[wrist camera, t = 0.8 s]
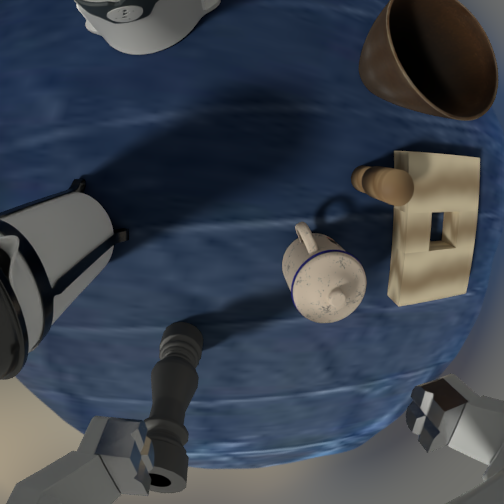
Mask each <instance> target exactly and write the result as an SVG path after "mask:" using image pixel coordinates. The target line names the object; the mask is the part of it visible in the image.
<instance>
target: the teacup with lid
mask: <svg viewBox="0 0 504 504" xmlns="http://www.w3.org/2000/svg"><path fill="white" fill-rule="evenodd" d="M295 228H296V232H297V235H298V237H299V238H298V239H296V240H295V241H294V242H292V243H291V244H290V246H289V247H288V248H287V250H286V252H285V254H284V257H283V261H282V270H283V274H284V277H285V279H286V281H287V284H288V286H289V289H290V291H291V297H292V301H293V304H294V306H295V308H296V309H297V310H298V312H299V313H300V314H301V315H303V316H304V317H306V318H307V319H309V320H311V321H314V322H318V323H331V322H335V321H338V320H341V319H343V318H345V317H347V316H348V315H349V314H351V313H352V312H353V311H354V310H355V309H356V308H357V307H358V305H359V304H360V302H361V301H362V299H363V296H364V294H365V290H366V274H365V271H364V268H363V266H362V264H361V263H360V261H359V260H358V259H357V258H356V257H355V256H353V255H352V254H350V253H348V252H346V251H345V250H344V249H343V248H342V247H341V246H340V245H338V244H337V243H336V242H335V241H334V240H333V239H332V238H330V237H328V236H326V235H323V234H318V233H312V232H311V231H310V229H309V227H308V226H307V224H306V223H305V222H300V223H298V224H296V226H295Z"/></svg>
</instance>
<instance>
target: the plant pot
mask: <svg viewBox="0 0 504 504" xmlns="http://www.w3.org/2000/svg"><path fill="white" fill-rule="evenodd" d="M359 74H360V77H361V80H362V82H363V84H364V85H365V86H366V88H367V89H368V90H369V91H370V92H372V93H373V94H375V95H376V96H378V97H380V98H382V99H384V100H386V101H388V102H391V103H393V104H395V105H398V106H401V107H404V108H407V109H410V110H414V111H418V112H421V113H425V114H429V115H434V116H439V117H445V118H451V119H456V120H464V121H465V120H474V119H477V118H479V117H481V116H482V115H484V114H485V113H486V112H487V111H488V110H489V109H490V107H491V106H492V104H493V102H494V100H495V97H496V93H497V88H498V68H497V63H496V58H495V55H494V51H493V49H492V46H491V43H490V41H489V39H488V37H487V35H486V33H485V31H484V30H483V28H482V27H481V25H480V24H479V22H478V21H477V20H476V18H475V17H474V16H473V14H472V13H471V12H470V11H469V10H468V9H467V8H466V7H465V6H464V5H463V4H461V3H460V2H459V1H458V0H390V1H389V2H388V4H387V5H386V6H385V8H384V9H383V10H382V12H381V13H380V14H379V16H378V17H377V19H376V21H375V22H374V24H373V26H372V27H371V29H370V31H369V33H368V36H367V38H366V40H365V43H364V45H363V48H362V52H361V56H360V61H359Z"/></svg>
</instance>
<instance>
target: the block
mask: <svg viewBox="0 0 504 504" xmlns="http://www.w3.org/2000/svg"><path fill="white" fill-rule="evenodd" d="M394 169H400V170H404V171H406V172H407V173H409V175H410V176H411V177H412V179H413V182H414V193H413V196H412V198H411V200H410V201H409V202H408V203H407V204H405V205H403V206H394V219H393V238H392V252H391V264H390V275H389V284H388V293H387V295H388V296H389V297H390V298H391V299H392V300H393V301H394V302H395V303H396V304H397V305H398V306H405V305H410V304H416V303H421V302H426V301H431V300H436V299H441V298H446V297H451V296H455V295H460V294H465V293H466V290H467V285H468V280H469V275H470V269H471V263H472V256H473V250H474V242H475V234H476V225H477V214H478V201H479V180H480V158H477V157H468V156H459V155H449V154H438V153H425V152H410V151H394ZM432 212H444V220H443V232H442V241H431V242H430V231H431V218H432Z"/></svg>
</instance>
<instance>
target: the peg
mask: <svg viewBox="0 0 504 504" xmlns="http://www.w3.org/2000/svg"><path fill="white" fill-rule="evenodd" d="M351 182H352V185H353V186H354V188H355V189H356V190H358V191H360V192H363V193H366V194H368V195H369V196H370V197H373V198H375V199H378V200H381V201H383V202H386V203H389V204H391V205H394V206H403V205H405V204H407V203H408V202H409V201H410V200H411V198H412V196H413V193H414V182H413V179H412V177H411V176H410V175H409V173H407V172H406V171H404V170H400V169H394V168H387V167H380V166H373V167H370V166H359V167H357V168H356V169H355V170H354V171H353V173H352V176H351Z"/></svg>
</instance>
